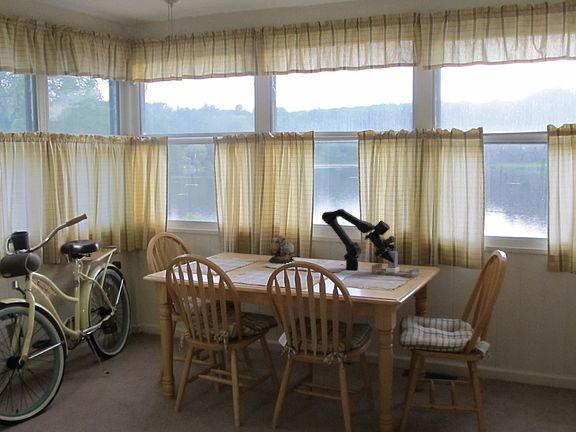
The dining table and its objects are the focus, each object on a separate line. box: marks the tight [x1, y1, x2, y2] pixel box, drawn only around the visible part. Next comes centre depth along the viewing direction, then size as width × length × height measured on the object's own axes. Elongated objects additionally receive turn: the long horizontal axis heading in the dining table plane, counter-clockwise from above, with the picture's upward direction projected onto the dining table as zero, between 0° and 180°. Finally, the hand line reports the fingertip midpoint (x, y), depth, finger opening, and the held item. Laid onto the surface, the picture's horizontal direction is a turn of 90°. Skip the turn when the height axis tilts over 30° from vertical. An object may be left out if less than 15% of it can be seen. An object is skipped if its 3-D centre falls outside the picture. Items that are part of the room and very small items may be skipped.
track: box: [371, 262, 420, 279], centre depth 330 cm, size 24×10×4 cm, turn 58°
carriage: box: [385, 250, 400, 273], centre depth 331 cm, size 6×6×11 cm
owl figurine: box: [267, 234, 296, 265], centre depth 369 cm, size 18×12×17 cm, turn 73°
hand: (395, 261), depth 330 cm, fingers closed on carriage, 4 cm apart
